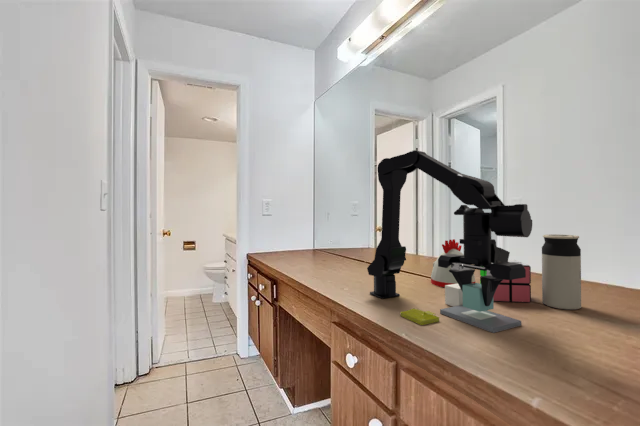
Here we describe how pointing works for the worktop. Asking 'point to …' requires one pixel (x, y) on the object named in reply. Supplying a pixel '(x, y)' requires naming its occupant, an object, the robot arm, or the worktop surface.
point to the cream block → (453, 295)
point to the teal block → (475, 298)
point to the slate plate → (481, 318)
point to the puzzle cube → (513, 287)
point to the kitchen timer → (443, 275)
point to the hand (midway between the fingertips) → (477, 303)
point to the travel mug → (561, 272)
